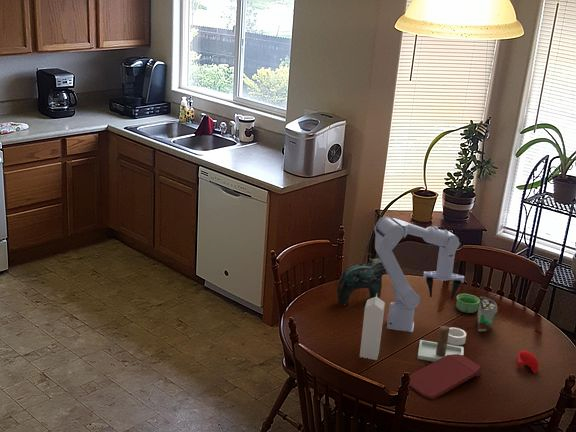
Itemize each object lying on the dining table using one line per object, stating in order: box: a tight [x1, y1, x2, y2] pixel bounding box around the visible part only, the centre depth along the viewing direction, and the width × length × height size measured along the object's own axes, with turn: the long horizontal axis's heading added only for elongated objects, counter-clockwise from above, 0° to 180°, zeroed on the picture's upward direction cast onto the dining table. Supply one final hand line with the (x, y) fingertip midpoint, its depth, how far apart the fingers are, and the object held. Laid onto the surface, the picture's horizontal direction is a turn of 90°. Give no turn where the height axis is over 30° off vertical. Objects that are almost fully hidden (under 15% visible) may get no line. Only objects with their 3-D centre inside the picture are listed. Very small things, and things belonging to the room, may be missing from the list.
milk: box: [359, 294, 386, 361], centre depth 236 cm, size 6×6×22 cm
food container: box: [476, 295, 498, 333], centre depth 261 cm, size 12×6×10 cm, turn 168°
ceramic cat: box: [336, 253, 387, 306], centre depth 274 cm, size 20×6×20 cm, turn 114°
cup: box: [447, 327, 467, 346], centre depth 251 cm, size 7×7×4 cm
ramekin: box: [456, 293, 480, 314], centre depth 276 cm, size 9×9×4 cm
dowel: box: [436, 325, 450, 356], centre depth 240 cm, size 3×3×10 cm
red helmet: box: [515, 349, 539, 374], centre depth 236 cm, size 8×6×6 cm
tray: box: [417, 339, 465, 363], centre depth 241 cm, size 15×11×2 cm
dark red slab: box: [408, 354, 482, 400], centre depth 227 cm, size 12×5×25 cm
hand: (441, 297), depth 261 cm, fingers open, 7 cm apart
